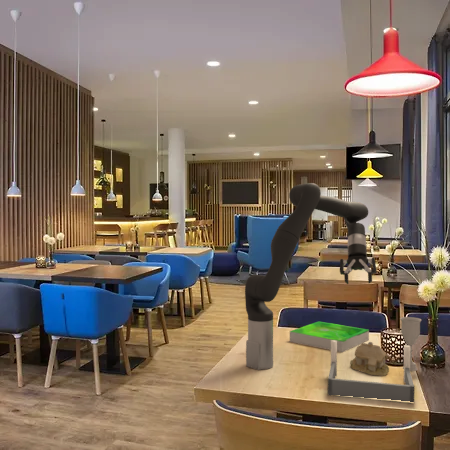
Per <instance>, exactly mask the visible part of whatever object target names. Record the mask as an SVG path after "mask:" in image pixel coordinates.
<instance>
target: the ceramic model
mask: <svg viewBox="0 0 450 450" xmlns="http://www.w3.org/2000/svg"><path fill="white" fill-rule="evenodd" d="M388 357H389V356H388V353H387V352H385V351H384V350H383V349H382V347H381V346H379V345H376V344H374V343H373V342H371V341H369V342H368V343H365V342H363V343H361V344H359V345H357V346H356V349H355V351H354V358H352V359H351V360H350V361H349V364H350V368H351V369H353V370H355V371H359V372H362V373H364V374H367V375H372V376H383V377H384V376H387V375H388V372H389V371H390V367H389V366H388V364H386V360H388V359H389V358H388Z"/></svg>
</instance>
